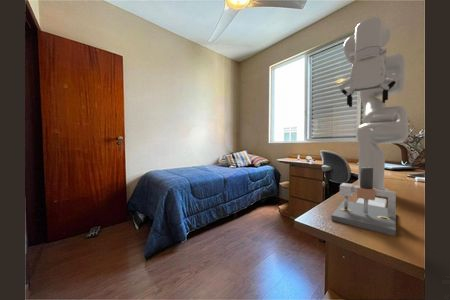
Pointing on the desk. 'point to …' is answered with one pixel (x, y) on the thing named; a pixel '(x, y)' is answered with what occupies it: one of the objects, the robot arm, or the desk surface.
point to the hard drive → (374, 202)
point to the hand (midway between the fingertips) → (366, 104)
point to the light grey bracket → (350, 189)
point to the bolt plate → (366, 217)
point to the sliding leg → (366, 186)
